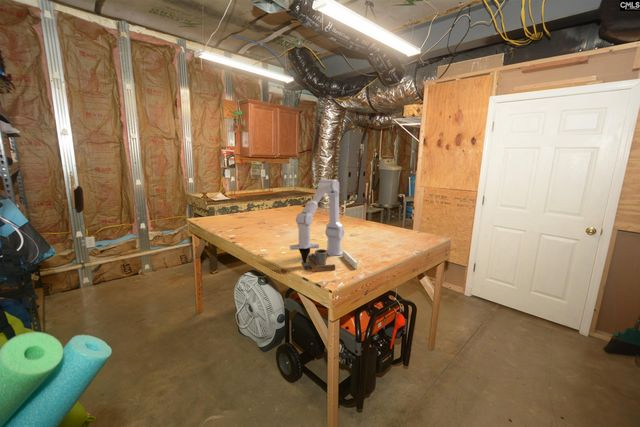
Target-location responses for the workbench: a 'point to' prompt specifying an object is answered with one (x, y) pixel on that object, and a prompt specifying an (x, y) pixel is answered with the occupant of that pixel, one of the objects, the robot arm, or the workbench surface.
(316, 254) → the pipe
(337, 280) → the workbench surface
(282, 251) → the workbench surface
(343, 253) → the cream plank
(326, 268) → the brown wooden board
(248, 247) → the workbench surface
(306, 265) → the strip
